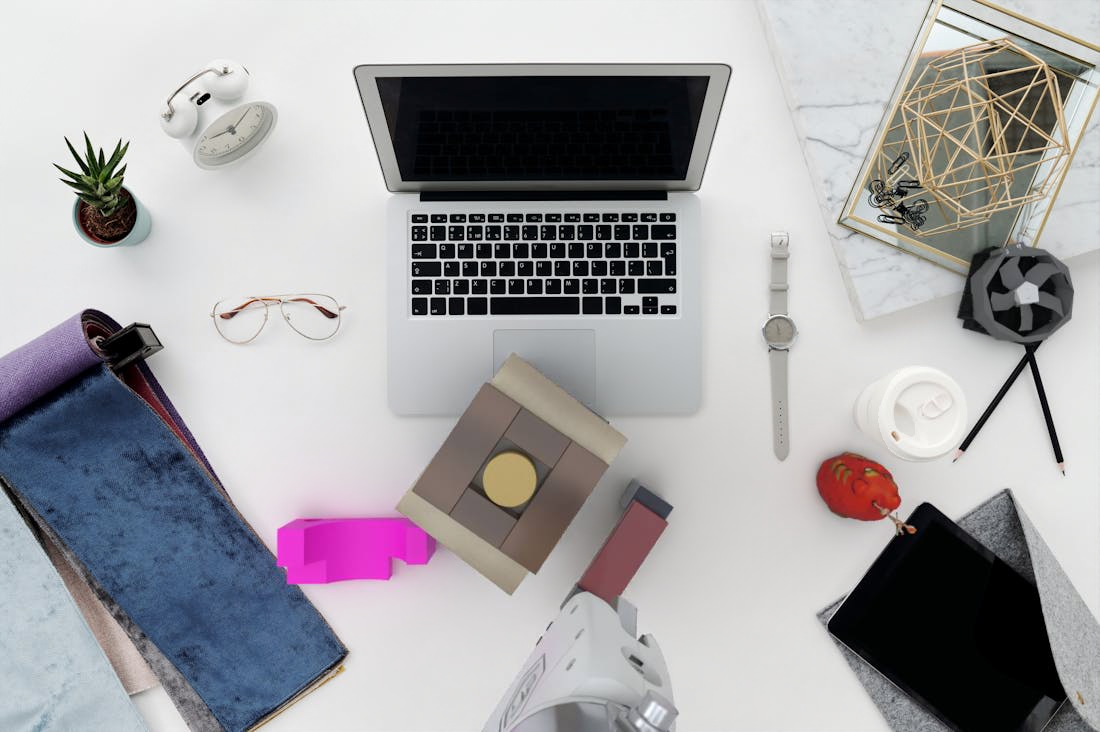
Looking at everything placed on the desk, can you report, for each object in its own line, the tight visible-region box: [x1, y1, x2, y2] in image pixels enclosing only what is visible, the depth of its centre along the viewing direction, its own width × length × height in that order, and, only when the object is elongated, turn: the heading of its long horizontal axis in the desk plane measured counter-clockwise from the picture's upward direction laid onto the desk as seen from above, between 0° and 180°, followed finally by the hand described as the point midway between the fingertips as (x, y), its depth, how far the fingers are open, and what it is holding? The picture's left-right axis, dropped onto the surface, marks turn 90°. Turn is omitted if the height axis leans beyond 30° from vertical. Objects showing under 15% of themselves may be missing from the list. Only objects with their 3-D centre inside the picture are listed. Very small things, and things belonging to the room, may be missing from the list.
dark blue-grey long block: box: [618, 477, 674, 521], centre depth 81 cm, size 15×6×8 cm, turn 146°
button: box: [483, 450, 537, 507], centre depth 59 cm, size 4×4×3 cm
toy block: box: [276, 516, 436, 585], centre depth 81 cm, size 15×6×8 cm, turn 91°
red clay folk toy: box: [815, 451, 917, 537], centre depth 78 cm, size 8×7×15 cm
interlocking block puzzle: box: [394, 352, 629, 597], centre depth 72 cm, size 16×12×27 cm
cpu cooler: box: [956, 241, 1075, 347], centre depth 84 cm, size 10×6×10 cm
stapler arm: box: [559, 499, 669, 612], centre depth 76 cm, size 13×4×3 cm, turn 146°
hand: (565, 646), depth 46 cm, fingers closed
